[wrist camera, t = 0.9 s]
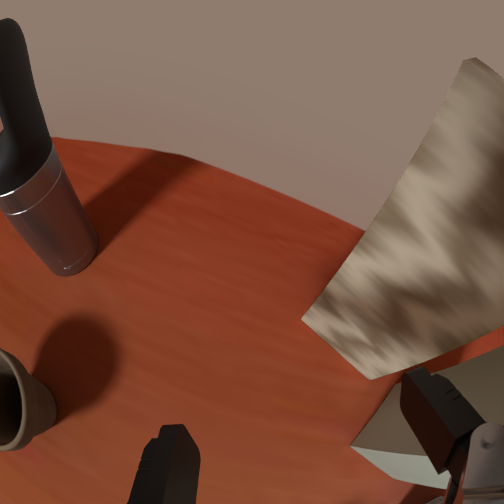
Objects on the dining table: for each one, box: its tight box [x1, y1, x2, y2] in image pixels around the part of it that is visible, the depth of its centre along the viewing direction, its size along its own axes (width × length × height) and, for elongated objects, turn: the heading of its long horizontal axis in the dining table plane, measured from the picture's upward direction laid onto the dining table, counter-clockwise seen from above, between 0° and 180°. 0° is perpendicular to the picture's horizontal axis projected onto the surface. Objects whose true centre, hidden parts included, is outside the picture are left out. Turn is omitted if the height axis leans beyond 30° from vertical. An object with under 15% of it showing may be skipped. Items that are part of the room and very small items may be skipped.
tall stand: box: [301, 58, 504, 380], centre depth 21 cm, size 12×10×32 cm
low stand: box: [350, 345, 504, 489], centre depth 18 cm, size 9×10×22 cm
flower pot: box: [0, 349, 57, 451], centre depth 20 cm, size 12×11×10 cm
